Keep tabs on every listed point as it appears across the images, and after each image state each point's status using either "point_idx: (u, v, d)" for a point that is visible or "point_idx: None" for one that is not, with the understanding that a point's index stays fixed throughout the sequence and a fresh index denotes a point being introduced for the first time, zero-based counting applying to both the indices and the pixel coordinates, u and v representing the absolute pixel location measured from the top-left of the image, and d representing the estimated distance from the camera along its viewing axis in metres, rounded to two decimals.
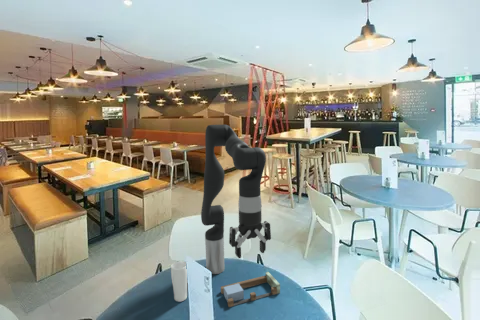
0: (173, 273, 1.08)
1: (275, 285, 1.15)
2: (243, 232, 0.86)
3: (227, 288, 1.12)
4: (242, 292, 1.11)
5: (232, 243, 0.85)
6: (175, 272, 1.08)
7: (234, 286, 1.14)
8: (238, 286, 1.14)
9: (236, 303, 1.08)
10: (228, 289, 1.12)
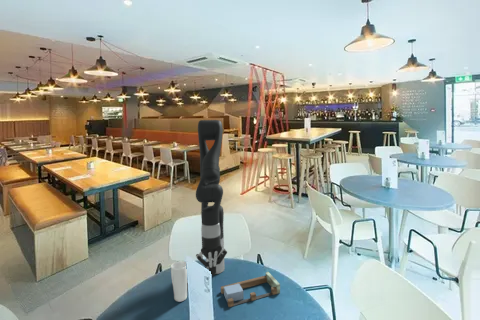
0: (173, 273, 1.08)
1: (275, 285, 1.15)
2: (206, 256, 1.05)
3: (227, 288, 1.13)
4: (241, 292, 1.11)
5: (204, 265, 1.05)
6: (175, 272, 1.08)
7: (234, 286, 1.14)
8: (238, 286, 1.14)
9: (236, 303, 1.08)
10: (228, 289, 1.12)
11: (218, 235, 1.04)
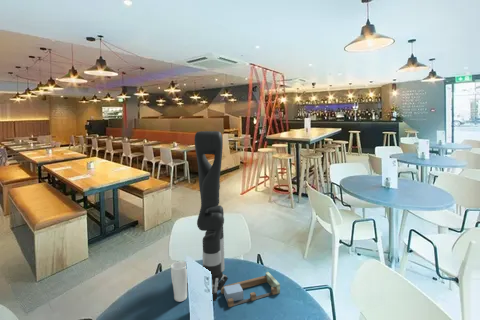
0: (173, 273, 1.08)
1: (275, 285, 1.15)
2: None
3: (227, 288, 1.13)
4: (241, 292, 1.11)
5: None
6: (175, 272, 1.08)
7: (234, 286, 1.14)
8: (238, 286, 1.14)
9: (236, 303, 1.08)
10: (228, 289, 1.12)
11: (219, 263, 1.05)
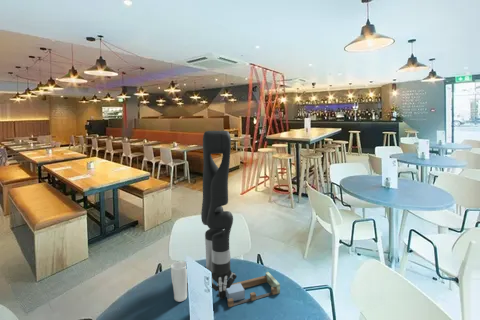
0: (173, 273, 1.08)
1: (275, 285, 1.15)
2: (216, 280, 1.08)
3: None
4: (243, 292, 1.11)
5: (215, 289, 1.08)
6: (175, 272, 1.08)
7: (235, 286, 1.14)
8: (239, 286, 1.14)
9: (236, 303, 1.08)
10: (230, 289, 1.12)
11: (228, 261, 1.07)
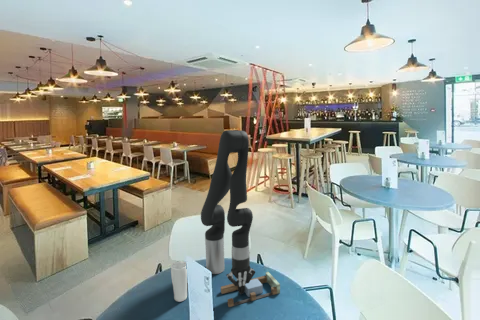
0: (173, 273, 1.08)
1: (275, 285, 1.15)
2: (236, 276, 1.11)
3: (246, 283, 1.16)
4: (261, 287, 1.15)
5: (234, 284, 1.11)
6: (175, 272, 1.08)
7: (253, 281, 1.18)
8: (257, 281, 1.18)
9: (236, 303, 1.08)
10: (248, 284, 1.15)
11: (248, 257, 1.10)
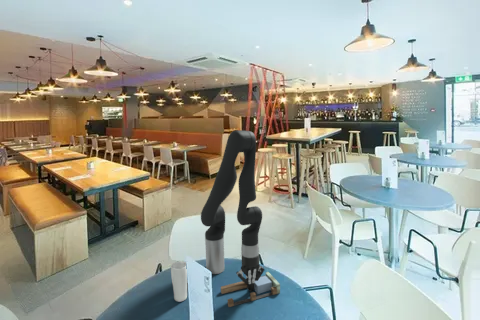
0: (173, 273, 1.08)
1: (275, 285, 1.15)
2: (246, 273, 1.13)
3: None
4: (270, 283, 1.17)
5: (244, 282, 1.13)
6: (175, 272, 1.08)
7: (262, 278, 1.19)
8: (266, 278, 1.19)
9: (236, 303, 1.08)
10: (257, 281, 1.17)
11: (257, 254, 1.11)
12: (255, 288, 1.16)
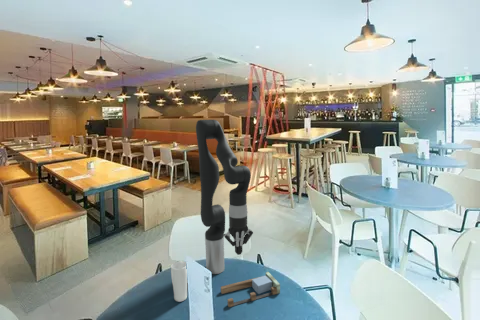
0: (173, 273, 1.08)
1: (275, 285, 1.15)
2: (234, 235, 1.08)
3: (255, 280, 1.18)
4: (270, 283, 1.17)
5: (232, 244, 1.08)
6: (175, 272, 1.08)
7: (262, 278, 1.19)
8: (266, 278, 1.20)
9: (236, 303, 1.08)
10: (257, 281, 1.17)
11: (245, 215, 1.07)
12: (255, 288, 1.16)
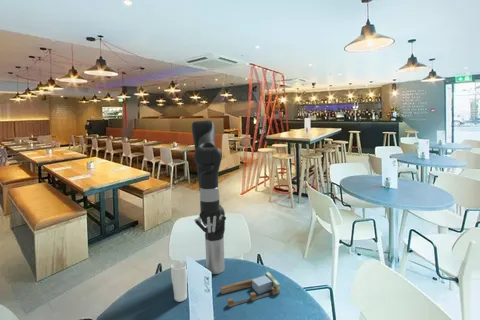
0: (173, 273, 1.08)
1: (275, 285, 1.15)
2: (205, 221, 1.03)
3: (255, 280, 1.18)
4: (270, 283, 1.17)
5: (203, 230, 1.03)
6: (175, 272, 1.08)
7: (262, 278, 1.19)
8: (265, 278, 1.20)
9: (236, 303, 1.08)
10: (258, 281, 1.17)
11: (217, 199, 1.02)
12: (256, 288, 1.16)
